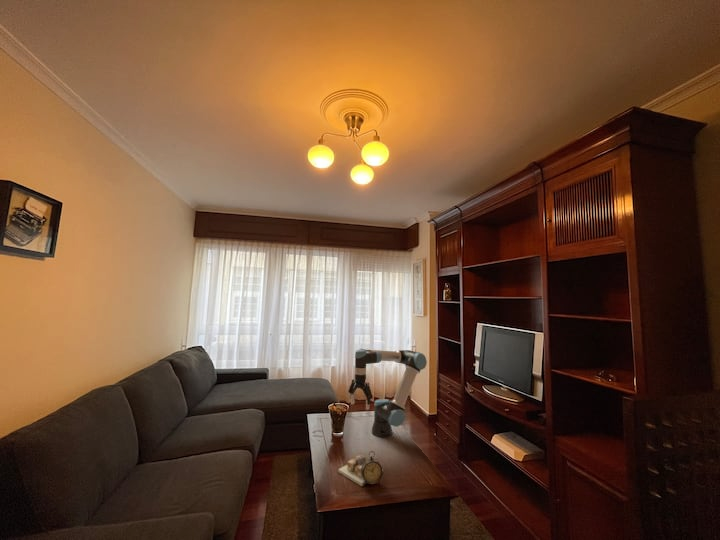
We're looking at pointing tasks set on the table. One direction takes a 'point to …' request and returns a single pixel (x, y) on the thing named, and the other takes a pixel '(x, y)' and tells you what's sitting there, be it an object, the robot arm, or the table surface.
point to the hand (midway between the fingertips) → (359, 406)
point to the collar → (355, 465)
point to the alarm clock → (371, 471)
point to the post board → (353, 473)
